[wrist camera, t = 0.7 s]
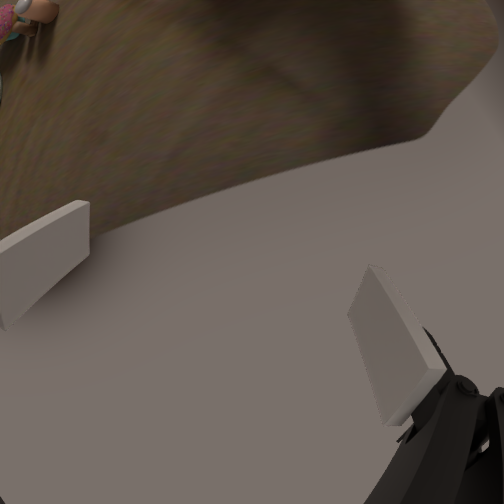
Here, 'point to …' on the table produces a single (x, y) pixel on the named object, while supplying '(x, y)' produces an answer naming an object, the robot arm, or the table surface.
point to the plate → (0, 86)
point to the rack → (26, 28)
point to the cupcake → (8, 22)
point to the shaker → (37, 10)
